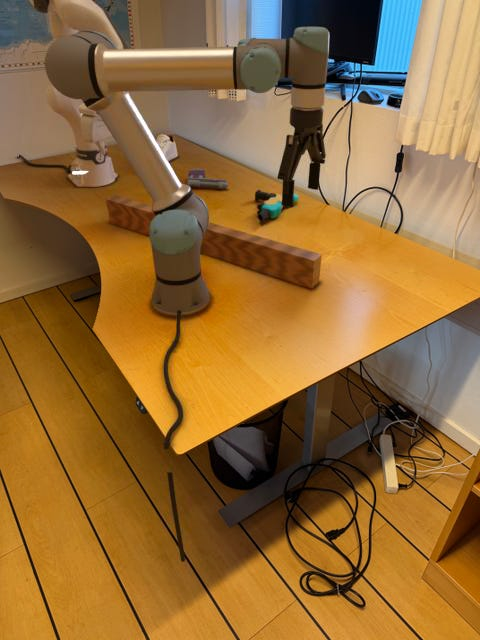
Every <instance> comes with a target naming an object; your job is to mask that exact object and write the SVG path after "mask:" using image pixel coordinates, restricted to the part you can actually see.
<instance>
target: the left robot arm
mask: <svg viewBox="0 0 480 640" xmlns="http://www.w3.org/2000/svg"><path fill="white" fill-rule="evenodd" d="M29 2H30V4H31V5H32V8H33V9H34V10H35V11H36V12H38V13H42V14H48V18H49V19H48V20H49V27H50V33H51V37H52V43H53V42H54V41H55V40H57V39H59V38H61V37H64V36H69V35H72V34H75V33H77V32H79V31H84V30H85V31H87V30H89V31H96V32H99V33H102V34H104V35H105V36H107V37H108V38H109V39H110V40H112V41H113V43H114V44H115V45H116V47H117V48H118V49H131V48H130V46H129V45H128V43H127V42H126V40H125V39H124V37H123V35H122V34H121V31H120V30H119V29H118V26H117V25H116V24H115V22H114V20H113V19H112V17H111V16H110V14H109V13H108V12H107V10H106V9H104V8H102V7H100V6H99V5H98V4H97V0H29ZM45 99H46V102H47V104H48V106H49V108H50V109H51V110H52V111H53V112H55V113H57V114H58V115H60V116H61V117H62V118H64V119H65V121H66V122H67V123H68V124H69V126H70V128H71V130H72V133H73V136H74V140H75V144H76V147H75V156H76V157H75V158H74V159H73V161H72V162H71V163H70V164H69V165H68V166H67V165H64V164H47V163H46V164H45V163H44V164H43V163H33V162H30V161H29V160H28V159H26V158H25V157H24V156H23V155H22V154H18V155H19V157H18V155H17V157H16V158H17V159H20V158H21V160H23V161H24V162H25V163H26V164H27V165H29V166H32V167H47V168H64V169H65V171H66V172H67V173H68V175H67V178H68V179H69V180H70V182H72V183H73V184H74V185H75V186H76V187H78V188H84V187H88V188H93V187H94V188H96V187H97V188H98V187H104V186H107V185H108V186H109V185H110V184H113V183H114V182H115V181H116V178H117V177H118V173H117V172H115V169H114V165H113V160H112V158H111V156H109V155H108V154H109V153H108V148H107V145H106V143H105V140H106V139H110V138H113V136H112V135H111V133H110V132H109V130H108V128H107V127H106V125H105V124H104V122H103V120H102V119H101V117H100V116H99V114H98V113H97V112H96V111H93V110H90V109H87V107H86V106H85V104H84V102H83V101H82V99H72V98H69V97H67V96H65V95H63V94H61V93H60V92H59V91H58V90H57V89H56V88H55V87H54V86H53V85H52V84H49V85H48V86H47V88H46V91H45Z"/></svg>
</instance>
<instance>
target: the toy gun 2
mask: <svg viewBox="0 0 480 640" xmlns="http://www.w3.org/2000/svg"><path fill="white" fill-rule="evenodd" d="M254 200H255V202H259V201H260V202H259V203H258V204H257V205H256V208H257V211H256V215H257V220H258V221H259V222H261V223H263V222H264V221H266V220H267V219H268V218H271V219H274V218H277V217H279V216H280V215H281V214H282V209H283V208H284V207H285V206H284V205H282V194H280V193H274V192H271V193H269V192H266V191H262V190H261V189H257V190H256V191H255V193H254ZM297 201H299V195H298V194H297V193H294V198H293V205H294V204H296V203H297Z"/></svg>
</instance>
